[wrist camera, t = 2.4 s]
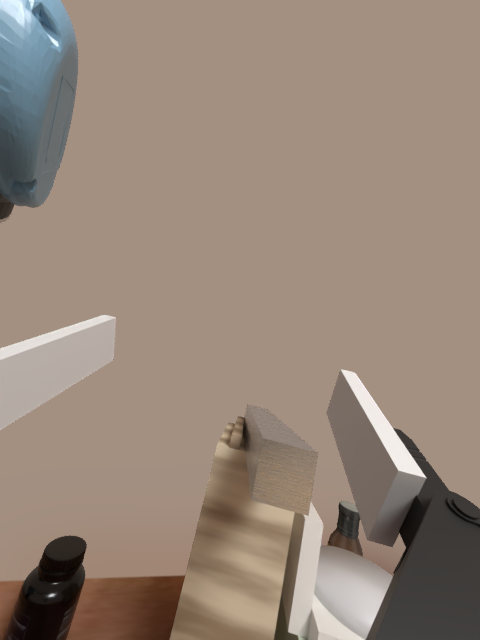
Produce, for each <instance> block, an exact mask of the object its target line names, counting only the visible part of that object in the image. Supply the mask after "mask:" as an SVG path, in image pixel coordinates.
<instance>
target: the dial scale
mask: <svg viewBox="0 0 480 640" xmlns="http://www.w3.org/2000/svg"><path fill="white" fill-rule="evenodd" d="M322 531H323V523H322V521H321V519H320V517H319V515H318V513H317V512H316V510H315V508H314V506H313V504H312V502H311V503H310V510H309V516H307V515H303V514H300V513H296V512H295V513H294V519H293V525H292V531H291V537H290V543H289V549H288V555H287V562H286V568H285V574H284V580H283V586H282V598H283V604H284V610H285V616H286V623H287V629H288V632H289V633H292V634H295V635H298V636H301V637H304V638H307V639H308V640H366V638H367V636H368V633H369V631H370V629H371V626H372V624H373V622H374V619H375V617H376V615H377V613H378V610H379V608H380V606H381V603H382V601H383V599H384V596H385V594H386V592H387V590H388V587H389V585H390V583H391V580H392V578H393V577H392V576H391V575H390V574H389V573H387V572H386V571H384V570H383V569H382V568H380V567H379V566H377V565H375V564H374V563H372V562H371V561H369V560H367V559H365V558H364V557H362V556H360V555H357V554H355V553H353V552H350V551H348V550H345V549H342V548H338V547H334V546H321V539H322Z"/></svg>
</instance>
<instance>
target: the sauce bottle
mask: <svg viewBox="0 0 480 640" xmlns="http://www.w3.org/2000/svg"><path fill="white" fill-rule="evenodd" d="M359 521H360V516H359V513H358V510H357V507H356V505H353V504H352V503H350V502H347V501H341V502H340V503H339V517H338V523H337V528H336V530H335V531H334V532H333V533H332V534H331V535H330V538H329V541H328V546H334V547H338V548H342V549H345V550H348V551H350V552H353V553H355V554H357V555H360V556H362V557H363V553H362V548H361V545H360V543H359V539H358V534H359V533H358V529H359Z"/></svg>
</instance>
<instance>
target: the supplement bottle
mask: <svg viewBox="0 0 480 640" xmlns="http://www.w3.org/2000/svg"><path fill="white" fill-rule="evenodd" d="M86 545H87V544H86V542H85V540H83V539H82V538H80V537H77V536H64V537H60V538H57V539H55V540H53V541H51V542H50V543H49V544H48V545H47V546H46V548H45V550H44V553H43V555H42V558H41V560H40V562H39V565H38V566H37V567H36V568H35V569H34V570H33V571H32V572H31V573H30V574H29V575H28V577H27V578H26V580H25V581H24V583H23V585H22V588H21V590H20V593H19V596H18V599H17V602H16V604H15V607H14V610H13V613H12V615H11V618H10V621H9V624H8V627H7V629H6V632H5V635H4V638H3V640H66V639H67V635H68V632H69V629H70V626H71V622H72V619H73V616H74V613H75V610H76V606H77V603H78V600H79V597H80V594H81V590H82V587H83V584H84V580H85V570H84V567H83V565H82V562H83V559H84V554H85V551H86Z"/></svg>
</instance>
